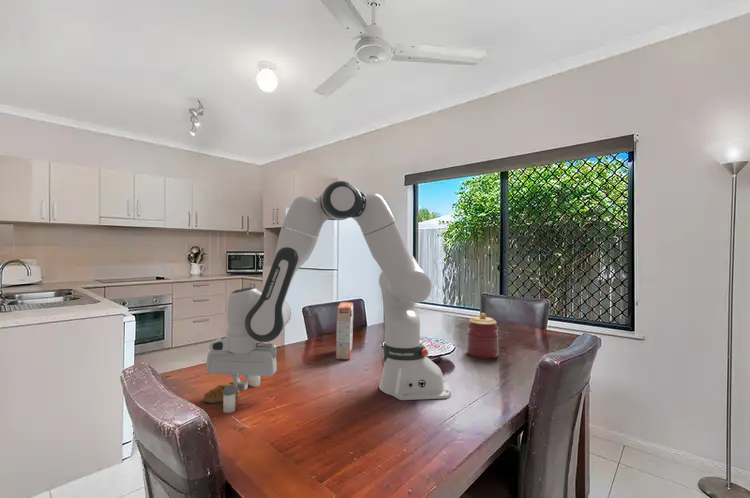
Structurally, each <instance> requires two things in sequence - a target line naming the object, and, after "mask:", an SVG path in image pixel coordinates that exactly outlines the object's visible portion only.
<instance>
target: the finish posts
mask: <svg viewBox="0 0 750 498" xmlns="http://www.w3.org/2000/svg"><path fill="white" fill-rule="evenodd" d="M249 381H250V382H249V385H250V387H252V388H253V387H254V388H256V387H259V386H261V376H251V378H250V380H249ZM235 393H236V388H235V387H234V386H233V385H228V386H226V387H225V388H224V390H223V394H224V396H223V401H222V403H223V407H222V409H223V410H222V411H223V413H225V414H230V413H233V412H235V411H236V397H235Z"/></svg>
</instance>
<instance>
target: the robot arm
mask: <svg viewBox="0 0 750 498" xmlns="http://www.w3.org/2000/svg"><path fill="white" fill-rule="evenodd" d="M349 218H350V219H351V218H352V219H353V220H354V221H355V222H356V223H357V224H358V226H359V229H360V230H361V233H362V235H363V238H364V241H365V242H366V245H367V247H368V249H369V252H370V253H371V256H372V258H373V259H374V260H375V262H376V264H377V265H378V266H379V268H380V269H381V273H380V274H379V277H378V283H379V287H380V292H381V298H382V305H383V311H384V319H385V320H384V321H385V324H384V327H385V328H384V332H385V333H384V343H383V346H382V347H383V348H382V349H383V350H382V359H383V369H382V375H381V379H380V383H379V386H378V387H379V390H380V391H382V392H383V393H385V394H387V395H389V396H392V397H394V398H395V399H398V400H399V401H413V400H415V401H416V400H431V399H432V400H436V399H439V400H440V399H448V398H449V397H450V396H451V393H452V392H451V387H450V384H449V383H448V382H447V381H446V380H445V379H444V375H443V372H442V369H441V368H440V366H438V365H437V364H436V363H435V362H434V361H432V360H431V359H430V358H429V357H428V355H429V351H428V349H427V347H426V346H425V345H424V344H422V343H420V340H421V337H420V336H421V335H420V334H421V331H420V330H421V320H420V316H419V314H418V311H417V308H416V304H419V303H420V304H421V303H423V302H424V301H426V300H427V299H428V297H430V294H431V292H432V281H431V278H430V277H429V276H428V274H427V273H425V271H424V270H423V269H422V268H421V266H420V265H419V262H418V261H417V260H416V258H415V257H414V255H413V254H412V252H411V251H410V249H409V247H408V245H407V244H406V242H405V240H404V237H403V235H402V233H401V231H400V228H399V226H398V223H397V221H396V219H395V216H394V215H393V212H392V211H391V208H390V207H389V205H388V203H387V202H386V200H385V199H384V198H383V196H382V195H381V194H379V193H376V192H371V193H370V192H369V193H366V194H365V193H364V192H362V191H361V190H360V189H358V188H357V187H356V186H355V185H353V184H352V183H350V182H348V181H344V180H338V181H333V182H331V183H330V184H329V185H328V186H327V187H325V188H324V190H323V191H322V193H321V194H320V195H319V196H318V197H314V196H309V195H300V196H297V197H296V198H294V199H293V201H292V203H291V205H290V207H289V209H288V211H286V215H285V217H284V219H283V223H282V226H281V228H280V231H279V234H278V235H279V236H278V239H277V244H276V248H275V252H274V257H273V261H272V264H271V268H270V270H269V273H268V276H267V279H266V280H265V284H264V286H263V289H262V292H261V291H260V290H258V288H256V287H252V286H251V287H245V288H244V287H242V288H240V289H236V290H233V291H231V293H230V294H229V296H228V302H227V309H226V320H227V325H228V326H227V330H226V336H223V337H220V338H217V339H215V340H213V341H212V342H210V343H209V345H208V346H209V350H210V351H208V352H207V358H206V363H205V364H206V365H205V368H206V372H207V373H208V374H209V375H231V379H232V380H233V381H232V382H235V384H236V389H237V390H238V389H239V391H240V390H242V391H243V390H244V391H246V390H247V389H248V383H249V381H250V378H251V376H260V377H272V376H273V375H274V374H275V373H276V372H277V369H278V368H277V367H278V364H277V355H278V351H277V350H278V349H277V348H278V347H276V345H274V344H272V343H270V342H271V341H274V340H276V339H277V338H278V336H279V335H281V332H282V330H284V328H285V327H286V326H287V324H288V323H289V322H290V320H291V317H292V316H291V315H292V309H291V308H290V305H289V304H288V303H287V302H286V301H285V300H286V297H287V293H288V291H289V288H290V285H291V283H292V280H293V279H294V277H295V274H296V273H297V272H298V270H299V269H300V268H301V267H302V266H303V265H304V264H305V263H306V262H307V261H308V260H309V258H310V256H311V255H312V253H313V251H314V249H315V248H316V244H317V241H318V238H319V236H320V233H321V229H322V227H323V225H324V223H326V221H343V220H344V221H345V220H347V219H349ZM268 342H269V343H268ZM239 376H243V379H245V380H244V381H241V379H240V378H239Z"/></svg>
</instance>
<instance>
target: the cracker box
mask: <svg viewBox="0 0 750 498" xmlns="http://www.w3.org/2000/svg"><path fill="white" fill-rule="evenodd" d="M336 309H337V310H336V336H335V337H336V339H335V341H336V342H335V345H336V347H335V360H348V361H349V360H350V359H351V355H352V351H353V336H354V334H353V333H354V332H353V331H354V330H353V329H354V302H352V301H351V302H350V301H349V302H348V301H346V302H339V304H338V306H337V308H336Z"/></svg>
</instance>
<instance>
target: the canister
mask: <svg viewBox="0 0 750 498" xmlns="http://www.w3.org/2000/svg"><path fill="white" fill-rule="evenodd" d="M468 322H469V323H468V324H467V325H466V327H467V333H466V336H467V339H466V341H467V342H466V353H467V355H469V356H471V357H473V358H479V359H495V358H497V357H498V355H499V336H500V335H499V334H498V331H499V329H500V327H499V326H497V323H498V322H497V321H496V320H495V319H494V318H492V317H487V315H486V313H484V312H481V313H480V314H479V316H473V317H471V318H470V319H469V320H468Z"/></svg>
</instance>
